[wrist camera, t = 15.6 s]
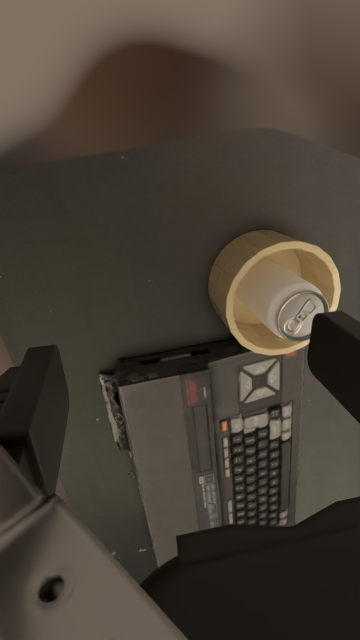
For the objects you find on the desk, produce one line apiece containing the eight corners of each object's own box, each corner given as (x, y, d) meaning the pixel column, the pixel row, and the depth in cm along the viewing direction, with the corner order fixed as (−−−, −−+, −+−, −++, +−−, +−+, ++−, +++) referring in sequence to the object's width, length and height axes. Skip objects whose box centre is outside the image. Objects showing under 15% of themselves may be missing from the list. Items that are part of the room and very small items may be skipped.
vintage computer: (291, 519, 67) (312, 561, 59) (145, 553, 64) (148, 602, 57) (294, 320, 49) (323, 345, 42) (94, 356, 47) (89, 390, 40)
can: (224, 288, 45) (260, 325, 34) (257, 248, 43) (305, 274, 32) (258, 313, 47) (301, 356, 36) (290, 276, 46) (345, 309, 35)
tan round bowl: (208, 232, 42) (228, 245, 35) (311, 226, 44) (349, 237, 37) (207, 332, 47) (224, 361, 40) (299, 322, 49) (330, 348, 42)
